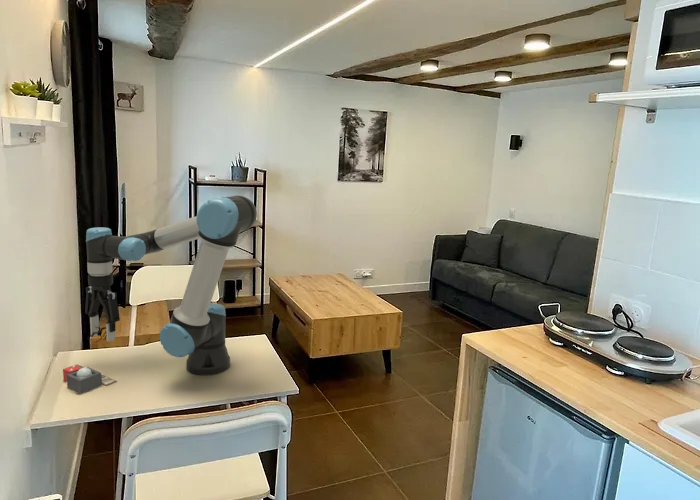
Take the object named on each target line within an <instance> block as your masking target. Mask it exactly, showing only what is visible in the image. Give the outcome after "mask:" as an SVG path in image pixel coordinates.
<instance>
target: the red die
mask: <svg viewBox="0 0 700 500" xmlns="http://www.w3.org/2000/svg"><path fill="white" fill-rule="evenodd" d="M79 369H81V367H79V366H77V365H76V364H74V365H71V366H67V367H65V368H62V374H63V376H62V377H63V382H66V383H67V375H68V374H70V373H73V372H76V371H78V370H79Z"/></svg>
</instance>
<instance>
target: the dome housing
mask: <svg viewBox="0 0 700 500" xmlns="http://www.w3.org/2000/svg"><path fill="white" fill-rule="evenodd" d="M86 368H89V369H90V370H91V372H92V375H90V376H87V377H84V378H82V379H81V378H78V377H77V372H78V371H76V372H73V373H70V374H68V375H67V382H66V386H67V387H66V388H67V389H68V390H70V391H72V392H74V393H77V394H79V395H83V394H85V393H88V392H90V391H93V390H95V389H98V388H100V387H102V386H103V385H102V377H101V374H102V372H100V371H98V370H95V369H93V368H91V367H89V366H87V367H86Z"/></svg>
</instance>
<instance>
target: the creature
mask: <svg viewBox="0 0 700 500" xmlns="http://www.w3.org/2000/svg"><path fill="white" fill-rule="evenodd" d="M96 328H97V327H96ZM98 329H99V331H98V332H96V333H97V334H96V333H95V334H96V335H97V336H96V338H99V337H100V339H99V340H96V342H95V343H99V342H100V341H101V340H104V341H105V340H107V334H106V331H105V332H104V333H103V330H106V326H104V327H100V326H99V327H98ZM102 334H103V335H102ZM94 336H95V335H94V332H93V333H92V335H91V334H89V335H88V336H87V340H89V338H90V337H91V338H93V337H94ZM103 337H104V338H103Z"/></svg>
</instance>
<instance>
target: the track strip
mask: <svg viewBox="0 0 700 500" xmlns="http://www.w3.org/2000/svg"><path fill="white" fill-rule="evenodd" d="M75 365H77V366H79V367H81V368H86V367H85V366H82V365H79V364H77V363H76V364H75ZM101 377H102V386H105V387H107V386H110V385H112V384H115V383H117V382H118V380H116V379H114V378H112V377H109V376H107V375H104V374H102V373H101Z"/></svg>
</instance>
